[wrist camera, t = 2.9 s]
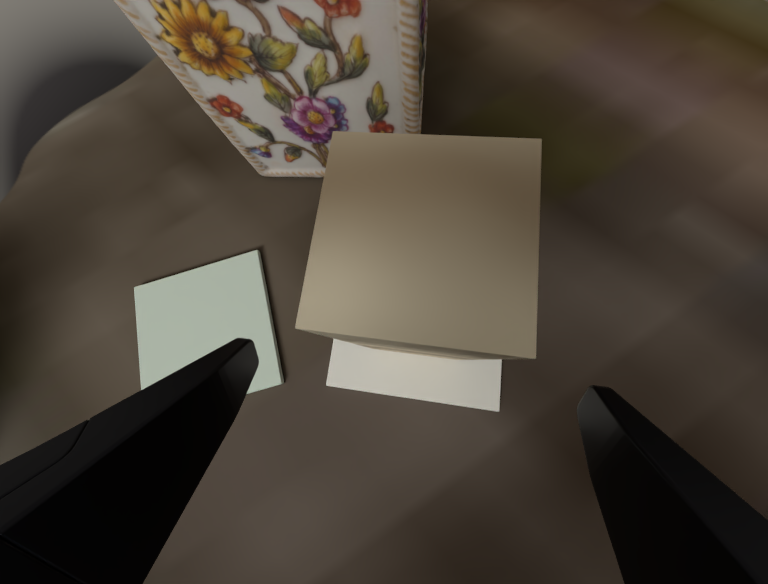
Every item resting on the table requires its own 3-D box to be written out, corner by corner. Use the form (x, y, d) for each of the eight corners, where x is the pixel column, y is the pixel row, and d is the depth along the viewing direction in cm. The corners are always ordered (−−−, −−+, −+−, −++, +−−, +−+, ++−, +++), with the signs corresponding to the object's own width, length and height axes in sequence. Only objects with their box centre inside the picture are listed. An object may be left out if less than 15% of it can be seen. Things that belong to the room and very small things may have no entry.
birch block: (457, 359, 18) (536, 359, 6) (372, 348, 18) (294, 328, 7) (463, 277, 19) (541, 138, 7) (383, 269, 19) (332, 130, 8)
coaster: (284, 383, 19) (281, 383, 18) (149, 421, 19) (143, 423, 19) (260, 251, 21) (257, 249, 20) (139, 288, 21) (134, 287, 21)
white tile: (497, 410, 17) (499, 411, 17) (327, 385, 18) (325, 385, 18) (506, 244, 19) (507, 242, 19) (352, 232, 20) (351, 230, 20)
